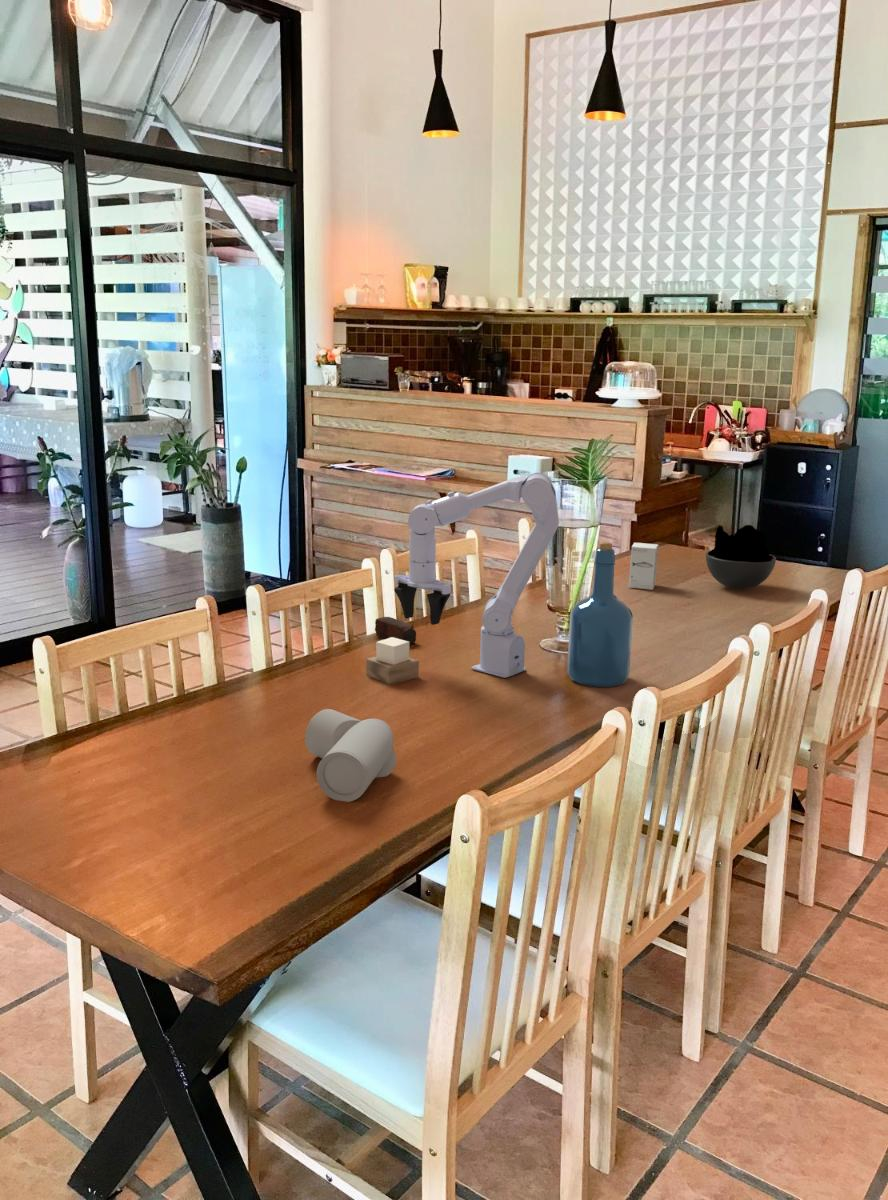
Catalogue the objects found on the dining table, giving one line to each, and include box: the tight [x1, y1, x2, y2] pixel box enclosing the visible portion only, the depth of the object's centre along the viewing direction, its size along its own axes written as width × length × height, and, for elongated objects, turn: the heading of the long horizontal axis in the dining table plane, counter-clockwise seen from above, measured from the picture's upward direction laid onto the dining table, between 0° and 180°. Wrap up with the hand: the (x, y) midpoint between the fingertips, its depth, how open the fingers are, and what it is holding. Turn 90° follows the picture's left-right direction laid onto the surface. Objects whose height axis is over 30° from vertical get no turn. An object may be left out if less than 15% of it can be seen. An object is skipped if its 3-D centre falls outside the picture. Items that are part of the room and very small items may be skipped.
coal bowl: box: [705, 524, 777, 590], centre depth 305 cm, size 20×20×19 cm
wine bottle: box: [566, 541, 634, 688], centre depth 220 cm, size 14×13×30 cm
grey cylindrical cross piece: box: [304, 708, 397, 803], centre depth 171 cm, size 18×11×20 cm
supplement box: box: [628, 542, 659, 591], centre depth 306 cm, size 7×7×13 cm
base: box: [365, 656, 420, 685], centre depth 222 cm, size 8×8×4 cm
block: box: [375, 637, 410, 665], centre depth 221 cm, size 5×5×4 cm
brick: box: [374, 616, 417, 645], centre depth 249 cm, size 11×4×5 cm, turn 45°
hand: (421, 620), depth 228 cm, fingers open, 7 cm apart
